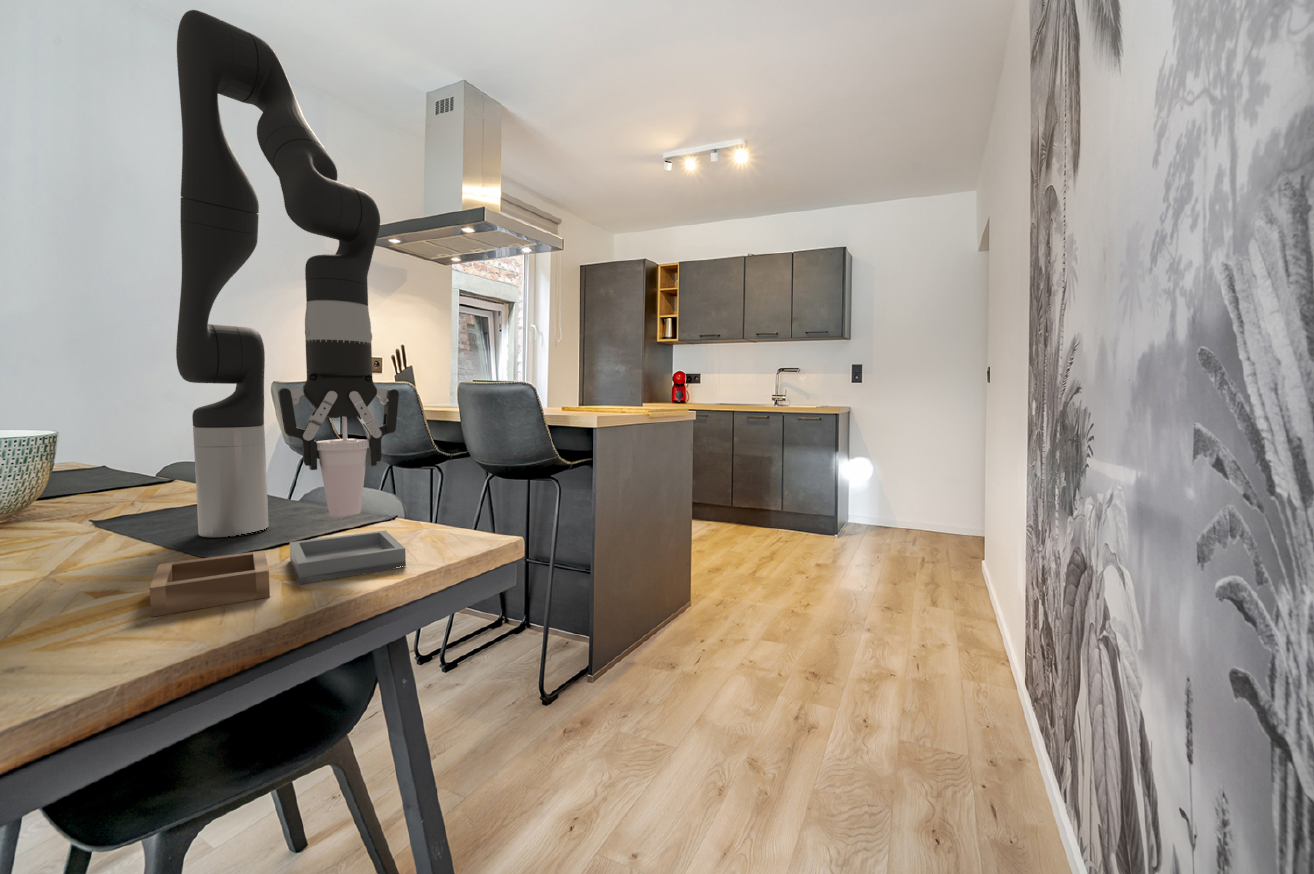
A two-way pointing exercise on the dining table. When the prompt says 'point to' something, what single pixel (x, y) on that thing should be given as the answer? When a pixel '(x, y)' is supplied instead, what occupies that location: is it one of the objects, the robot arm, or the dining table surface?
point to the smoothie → (343, 472)
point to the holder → (209, 582)
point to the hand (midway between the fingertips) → (343, 467)
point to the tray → (345, 556)
